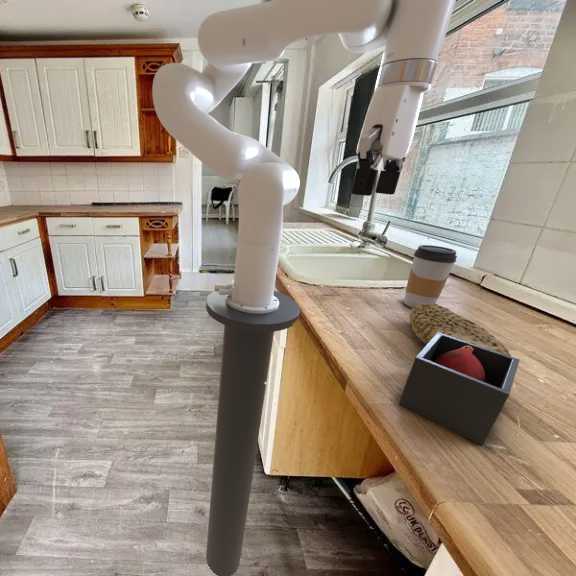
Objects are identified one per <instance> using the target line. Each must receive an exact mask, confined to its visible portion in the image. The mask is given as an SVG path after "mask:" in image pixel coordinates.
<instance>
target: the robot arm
mask: <svg viewBox="0 0 576 576" xmlns="http://www.w3.org/2000/svg"><path fill="white" fill-rule="evenodd" d="M456 1H457V0H269V1H265V2H260V3H255V4H250V5H245V6H239V7H234V8H230V9H225V10H219V11H216V12H213V13H211V14H209V15H208V16H207V17H205V18H204V19H203V20H202V23H200V25H199V29H198V32H197V47H198V50H199V52H200V54H201V56H202V58H203V59H204V60H205V61H206V63H207V65H206V66H205V67H204V68H203V69H202V71H200V70H198V69H196V68H194V67H191V66H190V65H187V64H184V63H181V62H170V63H166V64H163V65H162V66H161V67H159V68H158V69H157V71H156V72H155V74H154V77H153V80H152V89H151V90H152V103H153V107H154V110H155V113H156V116H157V118H158V120H159V122H160V123H161V125H162V127H163V128H164V129H165V130H166V132H167V133H168V134H169V135H170V136H171V137H172V138H173V139H175V141H177V142H178V143H179V144H180V145H181V146H183V147H184V148H185V149H186V150H187V151H188V152H189V153H191V154H192V155H193V157H195V158H196V159H198V160H199V161H200V162H201V163H202V164H203V165H205V166H206V167H207V168H208V169H209V170H210V171H211V172H213V173H214V174H215V175H216V176H217V177H219V178H220V179H223V180H229V181H230V180H231V181H232V180H239V184H238V188H237V200H238V201H237V204H238V228H237V229H238V230H237V242H236V243H237V244H236V254H235V263H234V264H235V265H234V274H233V275H234V276H233V279H232V280H231V283H229V282H228V283H227V284H223V283H214V291H219V294H220V295H227V296H226V302H227V304H228V305H229V306H230V307H232V308H234V309H236V310H238V311H241V312H246V313H252V314H265V313H270V312H273V311H275V310H276V309H277V308H278V306H279V300H278V299H277V298H276V297H275V296H274V295H273V294H274V291H275V286H276V281H277V279H276V278H277V271H278V264H279V258H280V252H281V251H280V250H281V245H282V235H283V227H284V226H283V225H284V206H286V205H288V204H289V203H291V202H292V201H293V200H295V198H296V196H297V194H298V192H299V190H300V178H299V175H298V173H297V171H296V170H295V169H294V168H293V166H291V165H290V164H289V163H287V161H285V160H284V159H282V158H281V156H278V155H277V154H276V153H275V152H273V151H272V150H271V149H269V148H268V147H267V146H266V145H264V144H262V142H260V141H258V140H257V139H256V138H253V137H250V136H248V135H244V134H240V133H237V132H234V131H231V130H230V129H228V128H227V127H225V126H224V125H222V124H221V123H220V122H219V121H218V120H216V119H215V118H214V117H212V115H210V114H209V113H211V112H212V111H214V110H215V109H216V108H217V106H218V105H219V104H220V103H221V102H222V101H223V100H224V99H225V98H226V96H228V94H229V93H231V91H232V90H233V89H234V88H235V86H237V84H238V83H239V82H240V81H241V79H242V78H243V77H244V76H245V75H246V73H248V70H249V69H250V68H251V66H252V65H253V64H257V63H266V62H276V61H277V60H279V59H280V58H282V56H283V54H284V53H285V50H286V49H287V48H288V47H290V46H291V45H292V44H294V43H296V42H299V41H301V40H305V39H309V38H315V37H321V36H331V35H338V37H339V39H340V41H341V43H342V46H343V47H344V48H345V50H346V51H348V52H350V53H352V54H355V55H357V54H359V55H360V54H367V53H370V52H374V51H377V50H380V49H383V53H382V58H381V60H380V65H379V70H378V74H377V78H376V81H375V87H374V90H373V94H372V97H371V100H370V103H369V105H368V108H367V111H366V113H365V119H364V121H363V123H362V124H363V125H362V128H361V132H360V135H359V139H358V142H357V147H356V152H355V153H356V154H357V159H358V161H357V163H356V165H355V168H356V170H355V175H354V179H353V183H352V188H351V195H355V196H357V195H358V196H366V197H370V196H372V195H373V192H374V191H375V193H376V194H381V195H382V194H383V195H394V194H395V193H396V190H397V187H398V183H399V181H400V180H399V179H400V177H401V172H402V170H403V168H404V162H405V161H406V156H407V155H408V152H409V150H410V148H411V144H412V141H413V138H414V134H415V130H416V126H417V123H418V118H419V114H420V109H421V105H422V101H423V94H424V93H427V92H429V91H430V90H431V85H432V82H433V79H434V75H435V72H436V70H437V65H438V62H439V60H440V56H441V52H442V50H443V49H442V48H443V46H444V42H445V39H446V35H447V32H448V28H449V26H450V21H451V18H452V15H453V10H454V9H455V5H456ZM381 161H382V165H383V167H382V169H383V170H380V171H379V169H377V168H378V166H379V164H380V163H381ZM378 173H379V175H378ZM377 177H378V180H377ZM376 180H377V184H376ZM375 185H376V187H375ZM374 188H375V190H374Z"/></svg>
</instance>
